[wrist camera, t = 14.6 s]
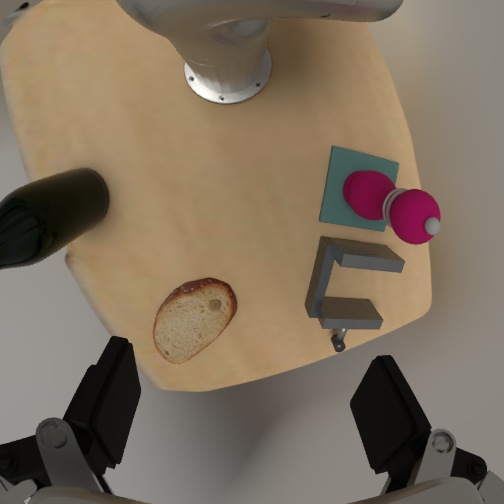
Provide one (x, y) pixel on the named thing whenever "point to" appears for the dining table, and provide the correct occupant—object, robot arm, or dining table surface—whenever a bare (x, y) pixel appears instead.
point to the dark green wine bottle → (49, 215)
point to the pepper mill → (393, 205)
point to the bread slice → (192, 318)
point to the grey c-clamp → (346, 309)
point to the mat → (338, 171)
